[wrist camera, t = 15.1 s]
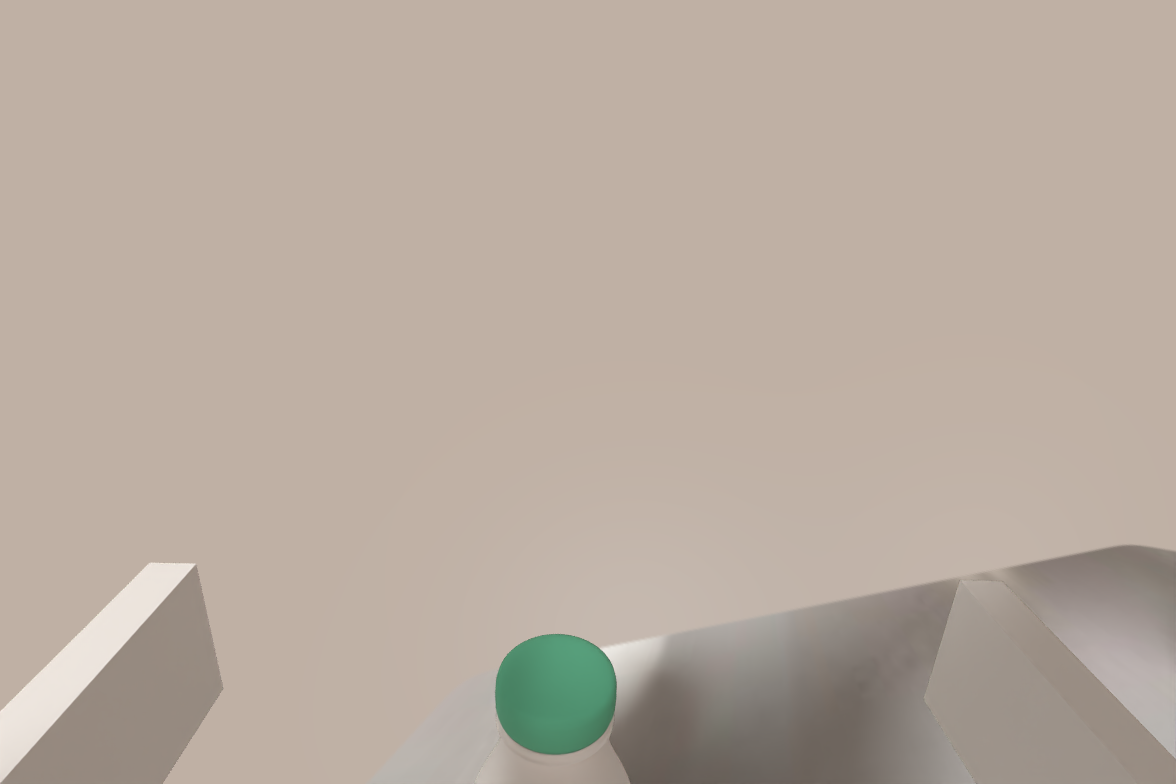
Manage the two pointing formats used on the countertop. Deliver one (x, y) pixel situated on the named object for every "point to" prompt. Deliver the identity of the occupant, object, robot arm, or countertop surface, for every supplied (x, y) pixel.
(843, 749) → the countertop surface
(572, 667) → the milk bottle
